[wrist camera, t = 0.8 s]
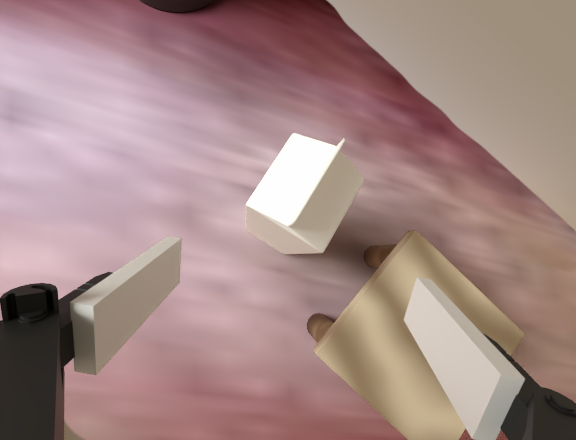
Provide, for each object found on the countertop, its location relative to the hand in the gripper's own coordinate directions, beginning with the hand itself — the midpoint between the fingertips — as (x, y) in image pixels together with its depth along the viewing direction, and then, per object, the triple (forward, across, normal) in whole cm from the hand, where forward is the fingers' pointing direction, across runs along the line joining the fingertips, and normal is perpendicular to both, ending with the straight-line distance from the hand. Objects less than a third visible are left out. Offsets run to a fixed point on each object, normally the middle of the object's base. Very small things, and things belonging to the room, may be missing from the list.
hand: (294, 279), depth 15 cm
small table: (+19, +13, -14) cm, 27 cm away
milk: (+21, -2, -4) cm, 22 cm away
